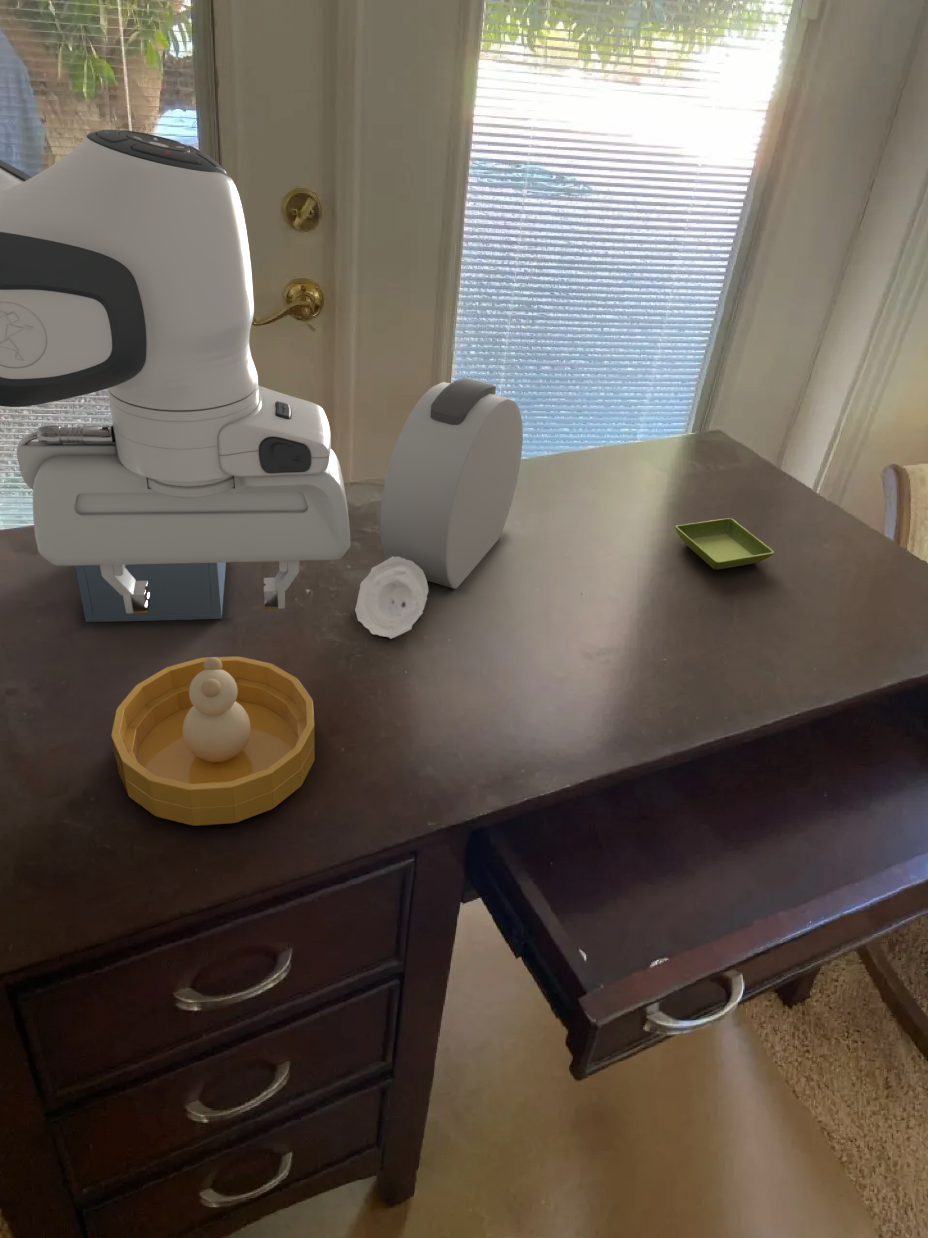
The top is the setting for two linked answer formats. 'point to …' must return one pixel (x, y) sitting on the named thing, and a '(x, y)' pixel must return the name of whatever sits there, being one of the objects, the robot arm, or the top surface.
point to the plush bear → (215, 715)
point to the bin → (156, 592)
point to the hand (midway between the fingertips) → (207, 606)
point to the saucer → (723, 543)
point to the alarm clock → (452, 479)
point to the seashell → (392, 597)
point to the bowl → (205, 789)
